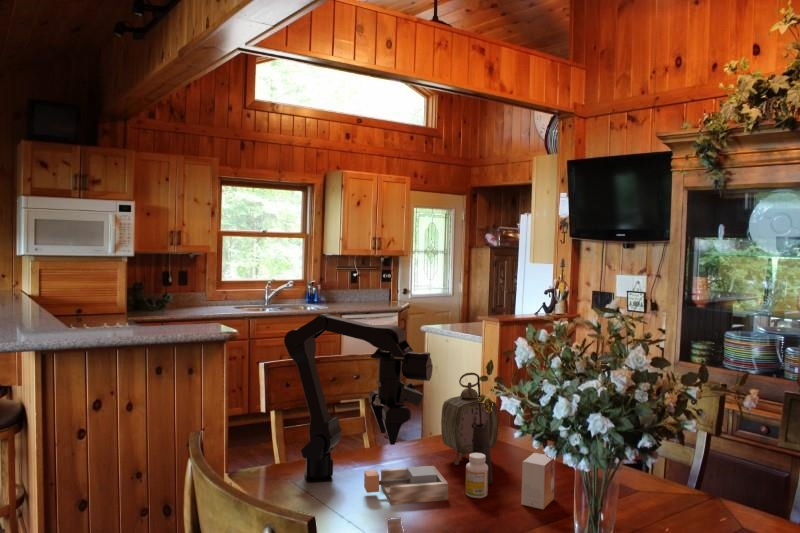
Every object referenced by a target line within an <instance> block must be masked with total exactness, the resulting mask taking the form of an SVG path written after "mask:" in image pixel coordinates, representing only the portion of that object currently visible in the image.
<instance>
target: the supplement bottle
mask: <svg viewBox="0 0 800 533" xmlns="http://www.w3.org/2000/svg"><path fill="white" fill-rule="evenodd" d="M468 457H469V458H468V459H469V460H468V461H469V462H468V463H466V465H465V494H466V495H467V496H468V497H469V498H474V499H483V498H485V497H487V496H488V494H489V492H488V488H489V485H488V466H487V464H486V463H485V461H486V456H485V455H484V454H482V453H469V455H468Z"/></svg>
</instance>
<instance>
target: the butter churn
mask: <svg viewBox="0 0 800 533" xmlns="http://www.w3.org/2000/svg"><path fill="white" fill-rule="evenodd" d="M476 377H477V378H476V379H477V382H478V385H477V393H478V399H479V397H480V396H481V382H480V381H481V379H480V380H479V377H480V375H479V374H478V376H476ZM479 416H480V424H476V425H474V428H473V445H472V447H473V448H472V449H473V453H482V454H484V455H485V456H486V461H485V463H486V464H487V466H488V486H489V485H491V484H493V471H492V469H493V468H492V456H490V455H491V448H490V442H489V431H488V422H485V423H484V424H482V419H481V418H482V417H481V416H482V415H481V403H479Z"/></svg>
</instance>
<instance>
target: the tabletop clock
mask: <svg viewBox="0 0 800 533" xmlns="http://www.w3.org/2000/svg"><path fill="white" fill-rule="evenodd" d="M478 375H479V374H477V373H476V372H466V373H464V374H463V375H461V376H460V377H459V381H458V383H459V386H461V387H462V388H464V389H463V390H462V391H461V392H460V395H459V396H455V397H454V396H453V397H450V398H448V399H446V400H445V401H444V402H443V404H442V408H441V418H440V420H441V421H440V424H441V425H440V426H441V427H440V428H441V439H442V442H443V444H444V445H445V446H446V447H449V449H452V450H454V451H455V452H456V455H455V459H454V460H453V464H454V466H459V464H460V460H459V456H460V457H461V458H463V459H464V458H465V457H466V456H467V454H471V453H473V449H472V448H473V447H472V445H473V428H474V425H476V424H480V416H479V403H478V390H476V389H474V387H476V386H478V381H477V382H475V383H474V384H472V382H467V385H465V384H462V380H463V379H464V377H466V376H475V377H477V376H478ZM479 380H480V381H481V377H480V376H479ZM492 403H493V406H492V411H491V412H490V413H489V412H487V411H486V409H485V407H484V403H481V415H482V416H481V417H482V418H481V419H482V424H484V423H485V422H488V431H489V442H490V449H492V448H493V447H495V445H496V443H497V438H498V432H499V412H498V410H499V409H498V406H497V403H496V402H495V401H492ZM491 455H492V454H490V456H491ZM491 457H492V456H491Z"/></svg>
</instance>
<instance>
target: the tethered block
mask: <svg viewBox="0 0 800 533" xmlns="http://www.w3.org/2000/svg"><path fill="white" fill-rule="evenodd" d="M430 466H431V465H425V466H422V465H421V466H410V467H406V468H407V479H395V480H381V479H380V474H379V472H378V471H377V469H376V470H375V469H374V470H364V472H363V473H364V478H363V480H364V481H363V483H364V484H363V487H364V490H365V491H366V494H367V493H368V494H370V493H380V486H381V485H386V484H400V483H407V485H408V484H421V483H435V482H437V474H436V473H435V472H434V470H433V469H432V468H431V467H430Z"/></svg>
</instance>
